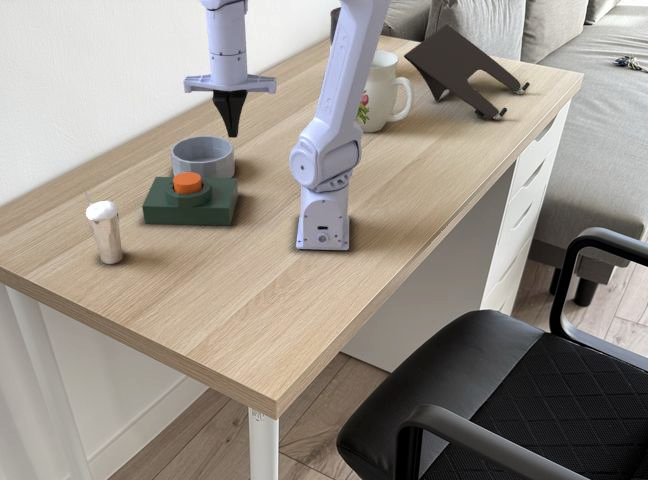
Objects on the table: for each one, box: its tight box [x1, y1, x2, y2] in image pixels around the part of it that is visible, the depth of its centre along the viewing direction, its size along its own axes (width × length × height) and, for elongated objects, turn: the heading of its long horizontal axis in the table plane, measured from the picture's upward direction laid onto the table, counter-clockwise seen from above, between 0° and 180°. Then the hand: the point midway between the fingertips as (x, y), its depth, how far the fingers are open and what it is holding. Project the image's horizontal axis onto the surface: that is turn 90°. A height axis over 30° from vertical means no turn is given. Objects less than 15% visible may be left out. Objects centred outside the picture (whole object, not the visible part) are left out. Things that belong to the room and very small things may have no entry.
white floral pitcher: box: [355, 48, 415, 133], centre depth 132 cm, size 11×18×14 cm, turn 51°
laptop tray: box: [403, 23, 531, 121], centre depth 144 cm, size 23×23×9 cm
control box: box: [141, 176, 239, 226], centre depth 112 cm, size 10×14×5 cm
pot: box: [169, 135, 236, 178], centre depth 122 cm, size 11×11×5 cm
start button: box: [173, 172, 202, 194], centre depth 109 cm, size 4×4×2 cm
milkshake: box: [83, 191, 124, 265], centre depth 100 cm, size 4×5×10 cm
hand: (233, 135), depth 113 cm, fingers closed
